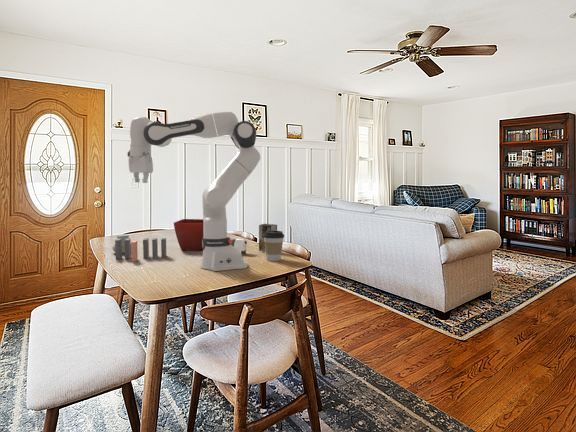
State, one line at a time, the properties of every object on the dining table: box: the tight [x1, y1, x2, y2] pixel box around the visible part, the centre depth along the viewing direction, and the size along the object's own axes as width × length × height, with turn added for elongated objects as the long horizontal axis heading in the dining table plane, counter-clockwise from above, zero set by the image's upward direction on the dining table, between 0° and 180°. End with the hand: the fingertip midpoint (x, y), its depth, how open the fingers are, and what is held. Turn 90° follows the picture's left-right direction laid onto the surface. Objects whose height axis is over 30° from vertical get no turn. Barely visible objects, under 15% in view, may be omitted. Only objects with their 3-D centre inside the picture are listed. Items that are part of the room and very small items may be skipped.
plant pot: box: [173, 218, 204, 251], centre depth 217 cm, size 19×19×17 cm
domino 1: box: [114, 238, 123, 260], centre depth 188 cm, size 2×5×10 cm, turn 13°
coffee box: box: [258, 223, 278, 253], centre depth 210 cm, size 9×6×16 cm
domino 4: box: [142, 237, 150, 260], centre depth 191 cm, size 2×5×10 cm, turn 13°
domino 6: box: [160, 237, 167, 259], centre depth 193 cm, size 2×5×10 cm, turn 13°
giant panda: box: [227, 236, 248, 256], centre depth 204 cm, size 15×6×10 cm, turn 82°
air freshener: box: [112, 234, 130, 255], centre depth 202 cm, size 11×8×10 cm
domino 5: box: [151, 237, 159, 259], centre depth 192 cm, size 2×5×10 cm, turn 13°
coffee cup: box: [263, 230, 285, 262], centre depth 189 cm, size 11×11×15 cm
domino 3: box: [131, 240, 139, 263], centre depth 183 cm, size 2×5×10 cm, turn 13°
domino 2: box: [124, 238, 132, 260], centre depth 189 cm, size 2×5×10 cm, turn 13°
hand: (141, 182), depth 169 cm, fingers open, 8 cm apart
